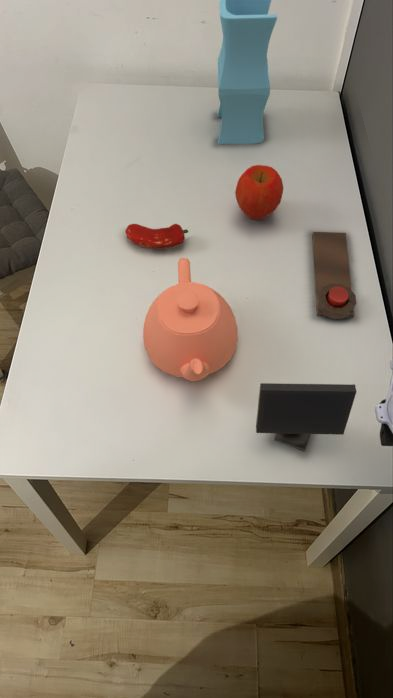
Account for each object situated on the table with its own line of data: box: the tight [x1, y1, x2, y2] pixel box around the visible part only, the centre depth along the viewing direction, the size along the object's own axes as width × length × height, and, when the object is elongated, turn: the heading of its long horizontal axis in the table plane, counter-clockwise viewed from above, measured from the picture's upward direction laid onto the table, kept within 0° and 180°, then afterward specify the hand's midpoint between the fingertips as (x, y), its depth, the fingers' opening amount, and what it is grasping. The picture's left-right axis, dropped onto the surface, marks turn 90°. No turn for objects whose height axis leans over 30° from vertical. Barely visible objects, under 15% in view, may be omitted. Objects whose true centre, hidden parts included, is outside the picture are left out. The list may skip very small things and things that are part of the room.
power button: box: [327, 286, 349, 307], centre depth 82 cm, size 3×3×2 cm
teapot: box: [142, 257, 239, 382], centre depth 77 cm, size 22×15×12 cm
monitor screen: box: [255, 382, 357, 436], centre depth 66 cm, size 1×12×9 cm, turn 89°
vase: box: [217, 0, 278, 145], centre depth 97 cm, size 10×10×25 cm
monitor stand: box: [274, 433, 311, 452], centre depth 71 cm, size 5×5×7 cm
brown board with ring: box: [311, 231, 357, 320], centre depth 87 cm, size 19×6×2 cm, turn 176°
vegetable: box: [124, 223, 189, 250], centre depth 92 cm, size 4×5×12 cm
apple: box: [234, 164, 284, 221], centre depth 91 cm, size 9×8×11 cm
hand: (388, 440), depth 62 cm, fingers closed
